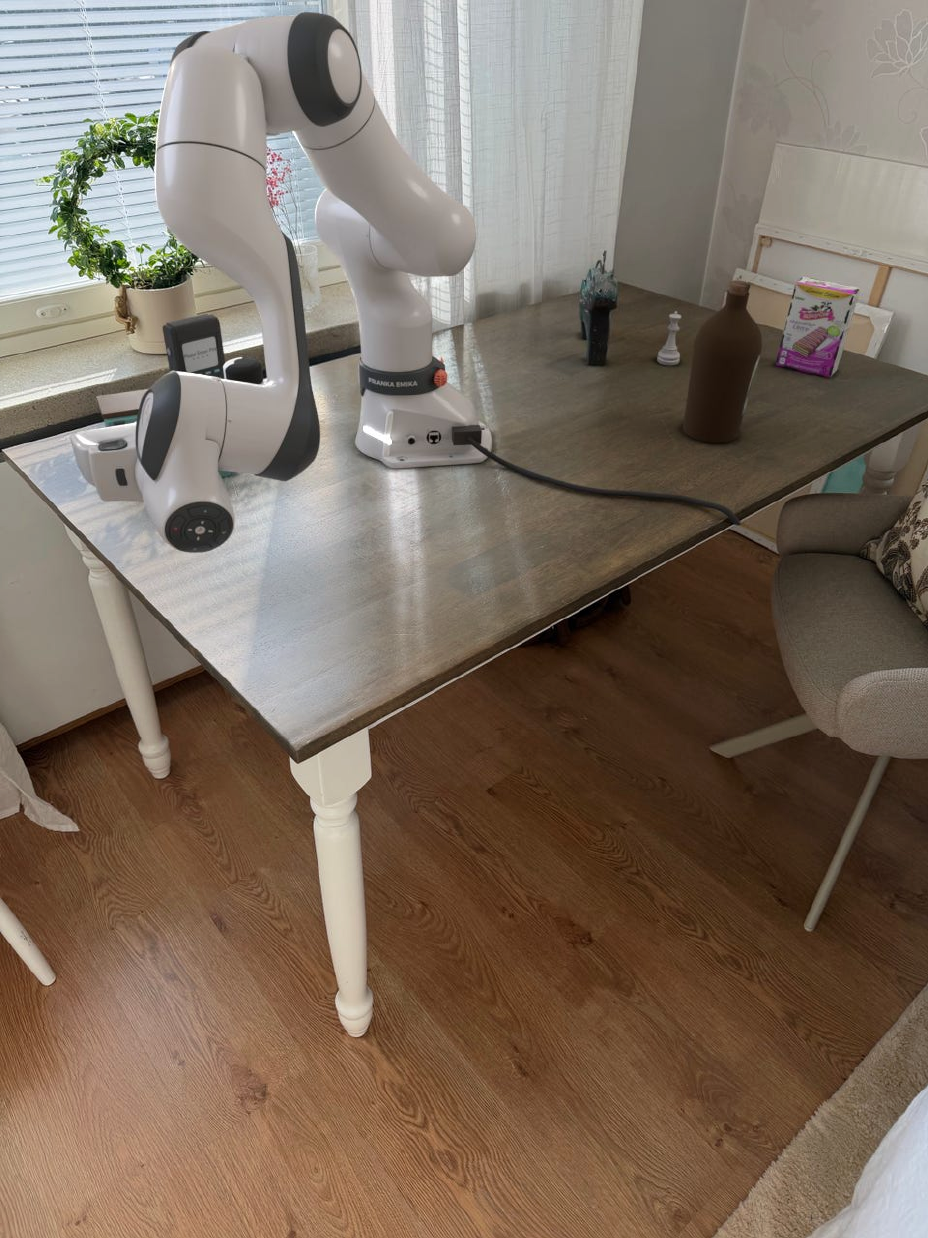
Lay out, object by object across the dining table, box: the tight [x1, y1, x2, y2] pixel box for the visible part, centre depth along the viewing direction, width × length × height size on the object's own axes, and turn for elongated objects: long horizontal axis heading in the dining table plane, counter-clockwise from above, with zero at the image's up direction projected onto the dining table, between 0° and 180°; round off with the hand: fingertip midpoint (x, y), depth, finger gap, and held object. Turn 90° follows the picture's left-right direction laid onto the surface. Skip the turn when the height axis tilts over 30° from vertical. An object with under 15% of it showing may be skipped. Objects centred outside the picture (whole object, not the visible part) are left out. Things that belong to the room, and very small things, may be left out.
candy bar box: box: [775, 276, 861, 378], centre depth 177 cm, size 11×5×16 cm, turn 57°
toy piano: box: [95, 388, 232, 478], centre depth 138 cm, size 10×17×12 cm, turn 114°
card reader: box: [162, 313, 226, 379], centre depth 157 cm, size 9×4×15 cm, turn 131°
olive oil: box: [682, 279, 763, 444], centre depth 150 cm, size 11×11×25 cm
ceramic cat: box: [578, 250, 619, 367], centre depth 181 cm, size 20×6×20 cm, turn 179°
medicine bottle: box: [223, 356, 266, 385], centre depth 150 cm, size 7×7×12 cm
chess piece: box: [656, 310, 682, 366], centre depth 180 cm, size 4×4×10 cm
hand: (151, 416), depth 117 cm, fingers closed
